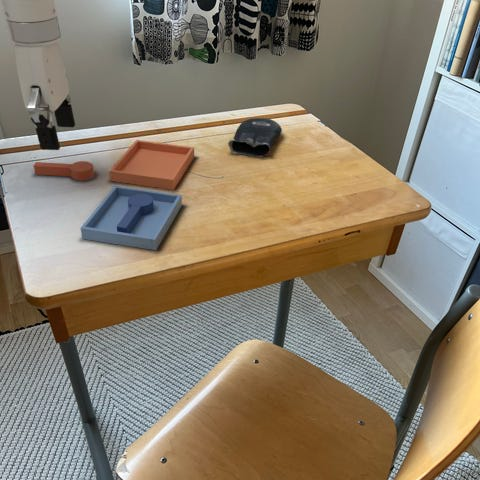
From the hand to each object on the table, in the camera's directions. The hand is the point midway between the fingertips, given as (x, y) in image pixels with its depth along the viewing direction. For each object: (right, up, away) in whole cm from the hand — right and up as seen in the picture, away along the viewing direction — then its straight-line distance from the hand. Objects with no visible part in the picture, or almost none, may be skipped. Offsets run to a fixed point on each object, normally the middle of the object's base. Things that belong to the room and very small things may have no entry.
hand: (58, 137), depth 91 cm
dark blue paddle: (+15, -16, -6) cm, 23 cm away
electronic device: (+36, +6, +19) cm, 41 cm away
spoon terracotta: (0, -5, +5) cm, 7 cm away
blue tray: (+15, -16, -6) cm, 23 cm away
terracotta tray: (+16, -3, +8) cm, 18 cm away
